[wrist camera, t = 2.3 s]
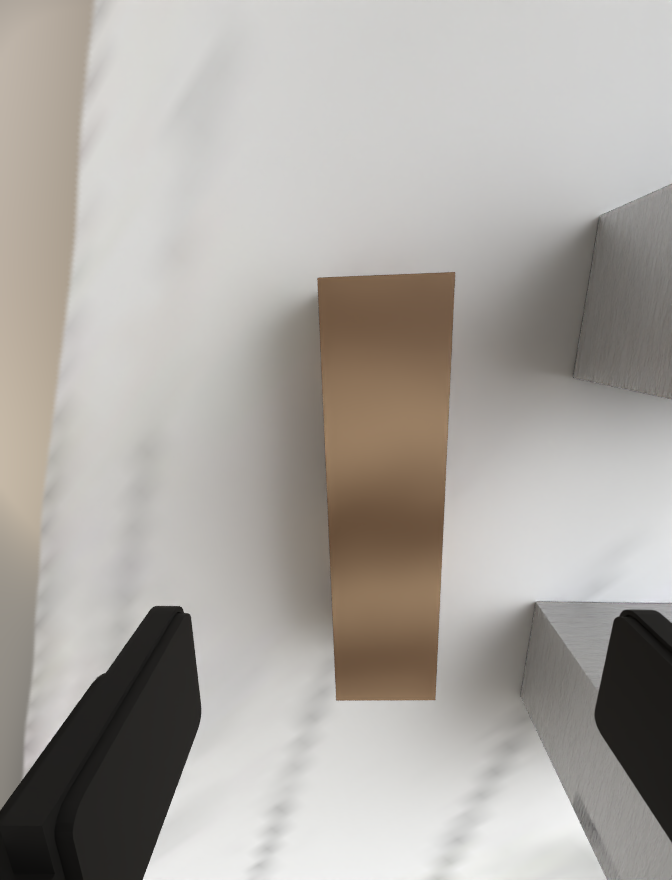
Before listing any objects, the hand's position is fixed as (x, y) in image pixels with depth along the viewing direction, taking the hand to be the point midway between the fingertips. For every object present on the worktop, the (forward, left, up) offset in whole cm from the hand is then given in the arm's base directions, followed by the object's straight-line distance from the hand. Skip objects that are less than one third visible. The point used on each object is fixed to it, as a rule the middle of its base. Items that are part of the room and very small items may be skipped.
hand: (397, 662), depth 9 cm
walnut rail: (-1, 0, -10) cm, 10 cm away
